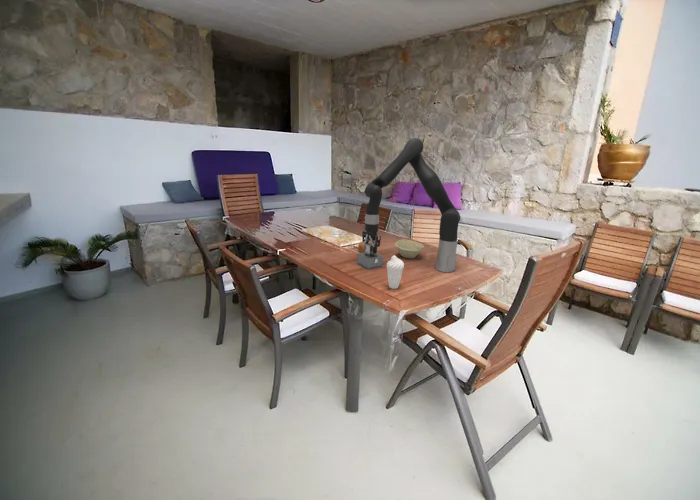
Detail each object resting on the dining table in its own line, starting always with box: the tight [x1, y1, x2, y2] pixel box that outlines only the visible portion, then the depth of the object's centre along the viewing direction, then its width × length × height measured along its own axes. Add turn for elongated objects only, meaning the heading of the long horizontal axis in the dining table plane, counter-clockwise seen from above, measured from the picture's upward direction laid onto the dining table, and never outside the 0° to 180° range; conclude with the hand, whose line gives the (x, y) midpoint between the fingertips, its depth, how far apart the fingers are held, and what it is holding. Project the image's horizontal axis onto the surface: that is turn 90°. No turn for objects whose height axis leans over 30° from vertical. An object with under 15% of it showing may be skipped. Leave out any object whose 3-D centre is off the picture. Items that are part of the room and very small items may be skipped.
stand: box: [355, 252, 385, 271], centre depth 178 cm, size 12×12×8 cm
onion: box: [357, 240, 371, 253], centre depth 196 cm, size 10×10×10 cm
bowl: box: [394, 239, 425, 259], centre depth 196 cm, size 14×18×15 cm
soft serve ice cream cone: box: [386, 255, 405, 290], centre depth 150 cm, size 8×8×16 cm
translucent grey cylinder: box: [365, 243, 374, 257], centre depth 177 cm, size 5×5×12 cm
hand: (370, 251), depth 177 cm, fingers open, 7 cm apart
